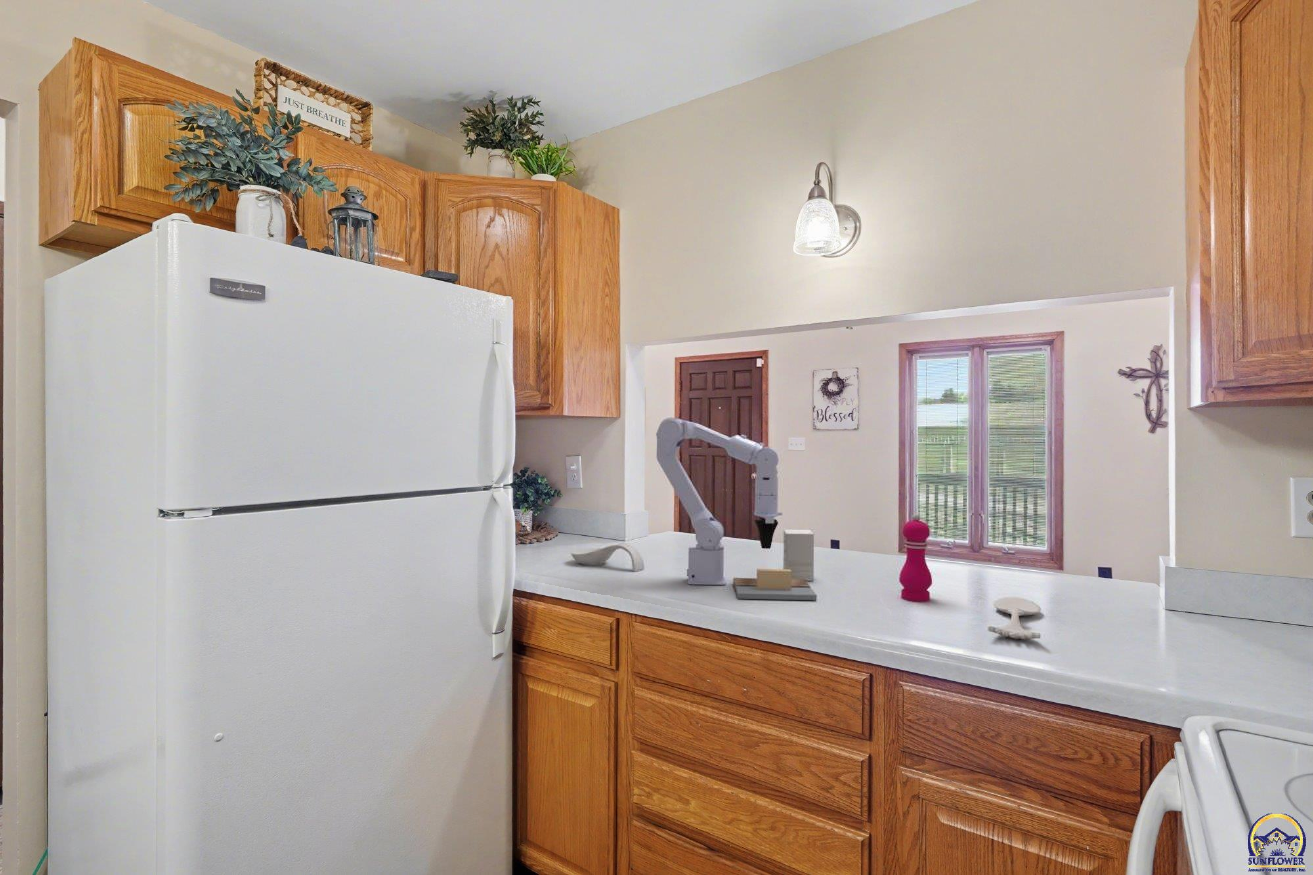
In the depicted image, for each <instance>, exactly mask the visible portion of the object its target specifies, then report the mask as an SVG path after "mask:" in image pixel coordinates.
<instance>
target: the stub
mask: <svg viewBox="0 0 1313 875" xmlns="http://www.w3.org/2000/svg"><path fill="white" fill-rule="evenodd" d="M756 578H757V587H748V586H736V591H735V593H736V596H737V599H738V600H739V599H740V600H743V599H744V600H782V601H783V600H786V601H787V600H788V601H790V600H791V601H793V600H794V601H817V600H818V599H817V596H818V595H817V593H815V591H814V590H813V589H812V588H811V587H810V588H797V587H791V581H792V571H791V570H789V569H783V568H782V569H780V568H779V569H778V568H775V569H774V568H756Z"/></svg>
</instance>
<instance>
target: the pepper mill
mask: <svg viewBox="0 0 1313 875" xmlns="http://www.w3.org/2000/svg"><path fill="white" fill-rule="evenodd" d="M911 518H912V520H909V521H907V522H905V523H904V524H903V526H902V536H903V537H904V538H905V540H904V548H906V559H905V562H904V564H903V566H902V568H901V570H900V572H899V576H898V577H899V580H898V581H899V583H900V584H901V586H902V587H903V588H901V591H900V592H901V595H900V596H901V598H902V599H904V600H906V601H910V602H928V601H930V599H931V598H930V597H931V596H930V593H931V592H930V591H929V590H928V589H929V588H930V587H931V586H932V585H933V577H932V573H931V571H930V569H929V567H928V565H927V560H926V549H927V548H928V545H927V544H928V542H927V540H928V538H929V537H930V534H931V530H930V527H929V525H928V524H927V523H926V522H925V521H922V520H921V516H920V514H918V513H914V514H913V515H912V516H911Z"/></svg>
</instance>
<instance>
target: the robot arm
mask: <svg viewBox="0 0 1313 875" xmlns="http://www.w3.org/2000/svg"><path fill="white" fill-rule="evenodd" d="M655 434H656V435H655V436H656V460H657V462H658V464H659V466H660V467H661V469H662V471H663V473H664V474H665V476H666V478H667V479H668V482H669V483H670V485H671V487H672V488H673V490H674V492H675V493H676V495H677V497H678V498H679V500H680V503H681V504H682V506H683V508H684V509H685V511H686V513H687V515H688V516H689V518H690V519H689V520H690V521H691V526H692V528H693V529H694V532H695V541H696V544H695V547H688V560H687V561H688V562H687V563H688V565H687V566H688V567H687V568H688V569H686V576H687V578H688V579H687V580H688V582H687V585H703V586H704V585H709V586H710V585H711V586H712V585H713V586H714V585H715V586H716V585H717V586H718V585H719V586H725V585H727V583H726V579H725V576H724V568H725V567H724V566H725V564H724V562H725V560H724V558H725V557H724V556H725V552H724V550H725V549H724V548H725V547H724V546H725V545H723V544H722V541H721V540H722V539H723V537H724V535H725V534H724V533H725V529H724V526H723V525H722V523H721V522H720V521H719V520H717V519H716V518H714V515H713V514H712V513H711V512H710V510H709V509H708V508H707V507H706V505H705V504H704V502H703V500H702V498H701V497H700V495H699V493H698V491H697V489H696V488H695V486H694V484H693V483H692V480H691V479H690V477H689V476H688V474H687V472H686V470H685V468H684V467H683V465H682V463H681V461H680V460H679V458H678V455H679V451H680V447H681V445H682V444H683V442H685V440H687V439H688V440H689V439H690V440H691V439H699V440H702V441H705V442H707V443H710V444H712V445H715V446H718V447H719V448H723V449H725V450H726V453H727V455H728V456H729V457H732V458H734V459H736V460H740V461H741V462H744V463H746V464H749V465H753V464H754V465H755V466H756V469H755V470H756V472H755V474H756V475H755V477H754V479H755V481H754V488H755V489H754V511H753V515H754V516H755V517H756V516H757V517H760V519H754V523H755V524H756V528H757V532H758V537H759V542H760V547H761V549H766V550H767V549H769V550H770V549H772V548H771V547H772V542H773V537H774V535H775V534H774V533H775V531H776V528H777V527H778V525H779V522H778V520H777V519H776V517H778V516H783V512H782V511H778V510H779V508H778V507H779V506H778V501H779V496H778V495H779V476H778V470H779V469H778V467H777V465H778V464H779V455H778V453H777V451H775V450H774V449H773V448H771V447H770V446H765V447H764V445H765V444H764V443H763V442H759V443H758V442H755V441H753V440H751V439H749V438H747V435H744V434H741V435H738V434H736V435H733V436H731V437H730V436H727V435H725V434H724V433H723V434H722V433H721V432H718V431H715V430H714V429H711V428H709V427H706V426H705V425H702V424H700V423H696V422H692V421H689V420H683V419H681V418H675V417H668V418H665V419H663V420H662V421H661V423H660V424H659V426H658V428H657V431H656V433H655Z"/></svg>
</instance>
